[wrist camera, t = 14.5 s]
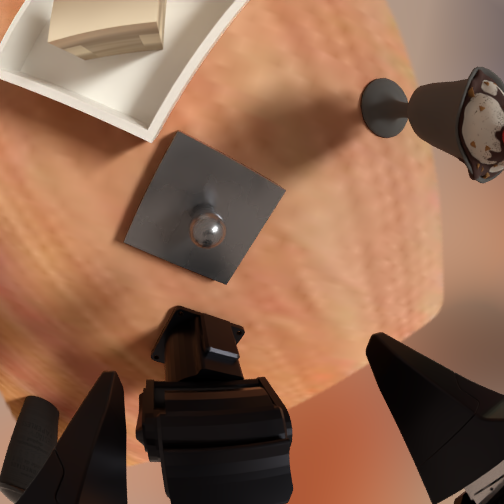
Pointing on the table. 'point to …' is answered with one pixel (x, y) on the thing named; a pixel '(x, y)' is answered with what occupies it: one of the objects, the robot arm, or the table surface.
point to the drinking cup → (29, 446)
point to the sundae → (446, 118)
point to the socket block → (107, 26)
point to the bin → (116, 64)
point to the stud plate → (202, 209)
